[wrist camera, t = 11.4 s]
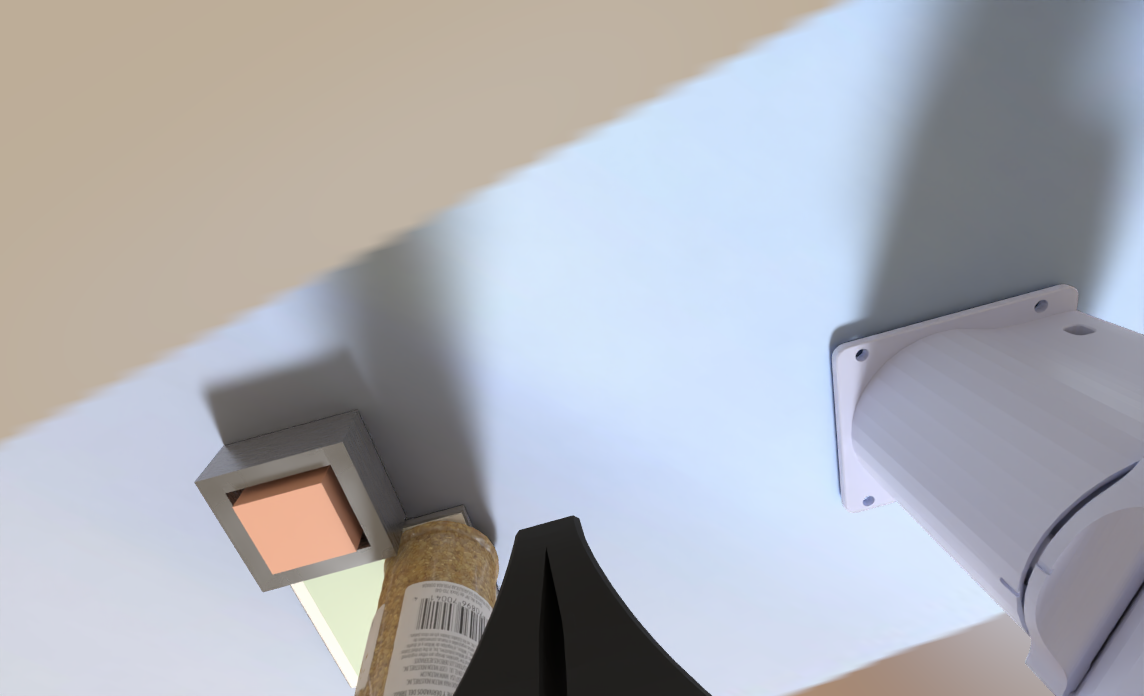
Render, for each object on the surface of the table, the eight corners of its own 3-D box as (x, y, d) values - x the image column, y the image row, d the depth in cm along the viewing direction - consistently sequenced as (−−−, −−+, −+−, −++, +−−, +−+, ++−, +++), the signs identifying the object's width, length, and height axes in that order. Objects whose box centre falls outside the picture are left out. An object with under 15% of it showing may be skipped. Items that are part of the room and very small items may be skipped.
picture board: (463, 504, 23) (462, 511, 23) (516, 636, 26) (516, 644, 26) (278, 555, 23) (274, 563, 23) (352, 681, 26) (350, 689, 26)
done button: (336, 449, 21) (321, 483, 19) (368, 514, 22) (356, 551, 20) (255, 472, 21) (231, 507, 19) (291, 535, 22) (272, 574, 20)
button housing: (357, 409, 21) (342, 441, 19) (405, 516, 23) (397, 555, 21) (223, 446, 21) (194, 482, 19) (283, 549, 23) (263, 592, 21)
